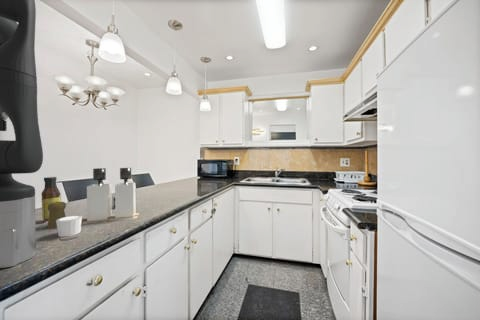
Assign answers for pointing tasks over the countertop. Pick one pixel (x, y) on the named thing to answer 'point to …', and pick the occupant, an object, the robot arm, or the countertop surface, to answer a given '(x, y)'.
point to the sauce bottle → (49, 196)
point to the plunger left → (99, 175)
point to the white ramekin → (69, 226)
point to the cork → (55, 213)
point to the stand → (112, 219)
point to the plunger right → (125, 174)
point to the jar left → (98, 202)
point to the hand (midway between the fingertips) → (10, 132)
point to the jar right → (125, 200)
